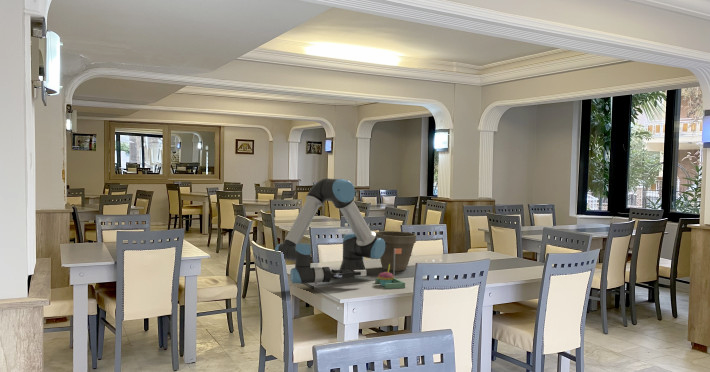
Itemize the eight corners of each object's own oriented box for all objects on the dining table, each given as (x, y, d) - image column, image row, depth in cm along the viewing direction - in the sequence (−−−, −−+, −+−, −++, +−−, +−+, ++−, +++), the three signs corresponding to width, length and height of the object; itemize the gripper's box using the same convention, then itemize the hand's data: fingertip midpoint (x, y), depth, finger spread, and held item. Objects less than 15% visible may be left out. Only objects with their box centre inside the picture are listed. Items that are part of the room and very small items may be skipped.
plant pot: (422, 268, 343) (423, 233, 343) (404, 274, 322) (405, 236, 322) (386, 263, 356) (387, 229, 356) (366, 269, 335) (367, 233, 335)
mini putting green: (386, 288, 283) (386, 253, 282) (374, 282, 297) (375, 248, 297) (412, 287, 288) (413, 252, 287) (400, 281, 302) (401, 248, 302)
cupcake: (393, 284, 295) (393, 261, 294) (394, 287, 286) (395, 264, 286) (377, 283, 295) (377, 260, 295) (377, 287, 286) (378, 263, 286)
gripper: (317, 279, 284) (361, 277, 293) (325, 284, 272) (370, 282, 280) (318, 264, 284) (361, 263, 292) (325, 269, 272) (370, 267, 280)
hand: (365, 272), depth 286 cm, fingers closed
